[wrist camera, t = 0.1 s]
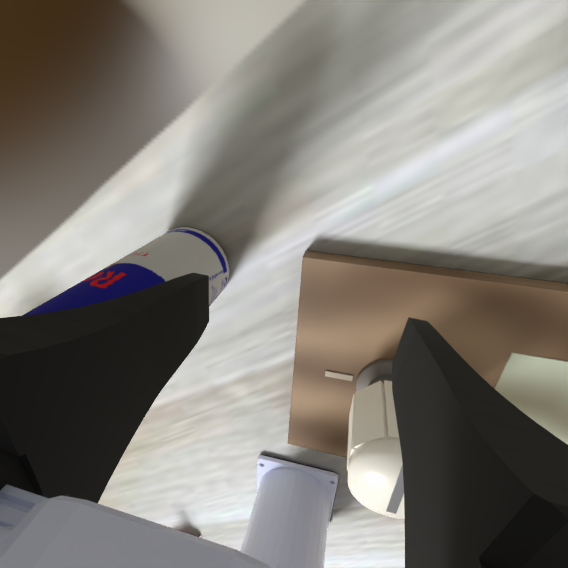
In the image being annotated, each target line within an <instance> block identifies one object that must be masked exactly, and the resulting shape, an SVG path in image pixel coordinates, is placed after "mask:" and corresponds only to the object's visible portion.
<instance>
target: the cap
mask: <svg viewBox="0 0 568 568" xmlns="http://www.w3.org/2000/svg"><path fill="white" fill-rule="evenodd" d="M347 470H348V486H349V489H350V491H351V493H352V495H353V496H354V497H355V498H356V499H357V500H358V501H359V502H360V503H361V504H362V505H364V506H365V507H367V508H369V509H370V510H372V511H374V512H376V513H379V514H382V515H385V516H388V517H392V518H398V519H405V513H404V483H403V463H402V454H401V446H400V440H399V433H398V426H397V420H396V413H395V406H394V399H393V392H392V381H387V380H384V384H383V383H382V382H381V381H378V382H376V383H374V384H372V385H369V386H367V387H365V388H363V389H360V390H358V391H356V392H355V394H353V399H352V404H351V409H350V413H349V432H348V452H347Z"/></svg>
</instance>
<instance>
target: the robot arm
mask: <svg viewBox="0 0 568 568" xmlns="http://www.w3.org/2000/svg"><path fill="white" fill-rule="evenodd" d="M208 322H209V276H208V275H203V274H198V273H190V274H186V275H183V276H180V277H177V278H174V279H171V280H168V281H166V282H163V283H160V284H157V285H154V286H152V287H149V288H146V289H143V290H140V291H137V292H134V293H131V294H127V295H124V296H121V297H118V298H115V299H111V300H107V301H103V302H99V303H95V304H91V305H87V306H82V307H77V308H71V309H66V310H60V311H54V312H48V313H42V314H34V315H26V316H17V317H7V318H0V568H324V558H325V547H326V536H327V528H328V526H329V521H330V516H331V511H332V507H333V502H334V497H335V493H336V488H337V483H338V475H337V474H336V473H333V472H329V471H325V470H321V469H317V468H313V467H309V466H305V465H300V464H296V463H292V462H288V461H284V460H280V459H276V458H272V457H268V456H264V455H260V456H258V459H257V495H256V499H255V502H254V506H253V509H252V513H251V516H250V520H249V523H248V527H247V530H246V534H245V537H244V541H243V544H242V548H241V551H238V550H235V549H232V548H229V547H226V546H223V545H220V544H217V543H214V542H211V541H208V540H205V539H202V538H199V537H196V536H193V535H190V534H187V533H184V532H181V531H178V530H175V529H172V528H169V527H166V526H163V525H160V524H157V523H154V522H151V521H148V520H145V519H142V518H139V517H136V516H133V515H130V514H127V513H124V512H121V511H118V510H115V509H112V508H109V507H106V506H103V505H100V504H97V503H98V501H99V499H100V497H101V495H102V493H103V491H104V489H105V487H106V485H107V483H108V481H109V479H110V478H111V476H112V474H113V472H114V470H115V468H116V466H117V465H118V463H119V461H120V459H121V457H122V455H123V453H124V451H125V450H126V448H127V446H128V444H129V443H130V441H131V439H132V437H133V436H134V434H135V432H136V430H137V429H138V427H139V425H140V423H141V422H142V420H143V418H144V417H145V415H146V413H147V412H148V410H149V408H150V407H151V405H152V404H153V402H154V400H155V399H156V397H157V396H158V394H159V393H160V391H161V390H162V389H163V387H164V386H165V385H166V383H167V382H168V381H169V379H170V378H171V377H172V375H173V374H174V373H175V371H176V370H177V369H178V368H179V366H180V365H181V364H182V362H183V361H184V360H185V358H186V357H187V356H188V354H189V353H190V352H191V350H192V349H193V348H194V346H195V345H196V344H197V342H198V340H199V339H200V337H201V335H202V334H203V332H204V330H205V328H206V326H207V324H208ZM392 392H393V399H394V406H395V413H396V420H397V426H398V433H399V440H400V446H401V454H402V463H403V483H404V513H405V568H568V445H567V444H566V443H564V442H563V441H562V440H560V439H559V438H557V437H556V436H555V435H553V434H552V433H550V432H549V431H548V430H546V429H545V428H543V427H542V426H541V425H539V424H538V423H536V422H535V421H534V420H532V419H531V418H530V417H528V416H527V415H526V414H524V413H523V412H522V411H521V410H519V409H518V408H517V407H516V406H515V405H513V404H512V403H511V402H510V401H508V400H507V399H506V398H505V397H503V396H502V395H501V394H500V393H499V392H498V391H496V390H495V389H494V388H493V387H492V386H491V385H490V384H489V383H488V382H487V381H485V380H484V379H483V378H482V377H481V376H480V375H479V374H478V373H477V372H476V371H475V370H474V369H473V368H472V367H471V366H470V365H469V364H468V363H467V362H466V361H465V360H464V359H463V358H462V357H461V356H460V355H459V354H458V353H457V352H456V351H455V350H454V349H453V348H452V347H451V345H450V344H449V343H448V342H447V341H446V340H445V339H444V338H443V337H442V336H441V335H440V334H439V332H438V331H437V330H436V329H435V328H434V327H433V326H432V325H431V324H430V323H429V322H428V321H424V320H420V319H415V318H410V317H408V320H407V323H406V326H405V328H404V331H403V334H402V337H401V340H400V342H399V345H398V348H397V351H396V354H395V356H394V359H393V362H392Z"/></svg>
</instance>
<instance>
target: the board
mask: <svg viewBox="0 0 568 568" xmlns="http://www.w3.org/2000/svg"><path fill="white" fill-rule="evenodd" d="M408 317H410V318H415V319H420V320H424V321H428V322H429V323H430V324H431V325H432V326H433V327H434V328H435V329H436V330H437V331H438V332H439V334H440V335H441V336H442V337H443V338H444V339H445V340H446V341H447V342H448V343H449V344H450V345H451V347H452V348H453V349H454V350H455V351H456V352H457V353H458V354H459V355H460V356H461V357H462V358H463V359H464V360H465V361H466V362H467V363H468V364H469V365H470V366H471V367H472V368H473V369H474V370H475V371H476V372H477V373H478V374H479V375H480V376H481V377H482V378H483V379H484V380H485V381H487V382H488V383H489V384H490V385H491V386H492V387H493V388H494V389H495V390H496V391H498V392H499V393H500V394H501V395H502V396H503V397H505V398H506V399H507V400H508V401H510V402H511V403H512V404H513V405H515V406H516V407H517V408H518V409H519V410H521V411H522V412H523V413H524V414H526V415H527V416H528V417H530V418H531V419H532V420H534V421H535V422H536V423H538V424H539V425H541V426H542V427H543V428H545V429H546V430H548V431H549V432H550V433H552V434H553V435H555V436H556V437H557V438H559V439H560V440H562V441H563V442H564V443H566V444H567V445H568V284H567V283H559V282H551V281H543V280H535V279H527V278H519V277H511V276H503V275H495V274H488V273H480V272H472V271H464V270H456V269H448V268H440V267H432V266H424V265H416V264H408V263H401V262H393V261H385V260H377V259H369V258H361V257H353V256H345V255H337V254H329V253H322V252H314V251H305V254H304V256H303V261H302V274H301V286H300V298H299V310H298V323H297V335H296V347H295V360H294V372H293V384H292V397H291V409H290V421H289V434H288V444H292V445H296V446H300V447H305V448H309V449H313V450H317V451H322V452H326V453H330V454H335V455H339V456H343V457H347V452H348V432H349V413H350V409H351V404H352V399H353V394H355V392H356V391H358V390H360V389H363V388H365V387H367V386H369V385H372V384H374V383H376V382H378V381H381V382H382V383H383V384H384V380H387V381H392V362H393V359H394V356H395V354H396V351H397V348H398V345H399V342H400V340H401V337H402V334H403V331H404V328H405V326H406V323H407V320H408Z"/></svg>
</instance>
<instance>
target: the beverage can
mask: <svg viewBox="0 0 568 568" xmlns="http://www.w3.org/2000/svg"><path fill="white" fill-rule="evenodd" d="M190 273H198V274H203V275H208V276H209V306H210V305H211V304H212V303H213V301H214V300H215V299H216V298H217V297H218V295H219V294H220V293H221V292H222V291H223V289H224V288H225V286H226V285H227V282H228V279H229V264H228V260H227V257H226V255H225V253H224V251H223V249H222V248H221V246H220V245H219V244H218V243H217V242H216V241H215V240H214V239H213V238H212V237H211V236H209V235H208V234H206V233H204V232H203V231H200V230H198V229H195V228H190V227H180V228H175V229H173V230H171V231H169V232H167V233H166V234H164V235H162V236H160V237H159V238H157V239H155V240H153V241H152V242H150V243H148V244H146V245H145V246H143V247H141V248H139V249H138V250H136V251H134V252H132V253H131V254H129V255H127V256H125V257H124V258H122V259H120V260H118V261H117V262H115V263H113V264H111V265H110V266H108V267H106V268H105V269H103V270H101V271H99V272H98V273H96V274H94V275H92V276H91V277H89V278H87V279H85V280H84V281H82V282H80V283H78V284H77V285H75V286H73V287H71V288H70V289H68V290H66V291H64V292H63V293H61V294H59V295H57V296H56V297H54V298H52V299H50V300H49V301H47V302H45V303H43V304H42V305H40V306H38V307H37V308H35V309H33V310H31V311H30V312H28V313H26V314H24V315H23V316H26V315H34V314H42V313H48V312H54V311H60V310H66V309H71V308H77V307H82V306H87V305H91V304H95V303H99V302H103V301H107V300H111V299H115V298H118V297H121V296H124V295H127V294H131V293H134V292H137V291H140V290H143V289H146V288H149V287H152V286H154V285H157V284H160V283H163V282H166V281H168V280H171V279H174V278H177V277H180V276H183V275H186V274H190Z"/></svg>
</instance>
